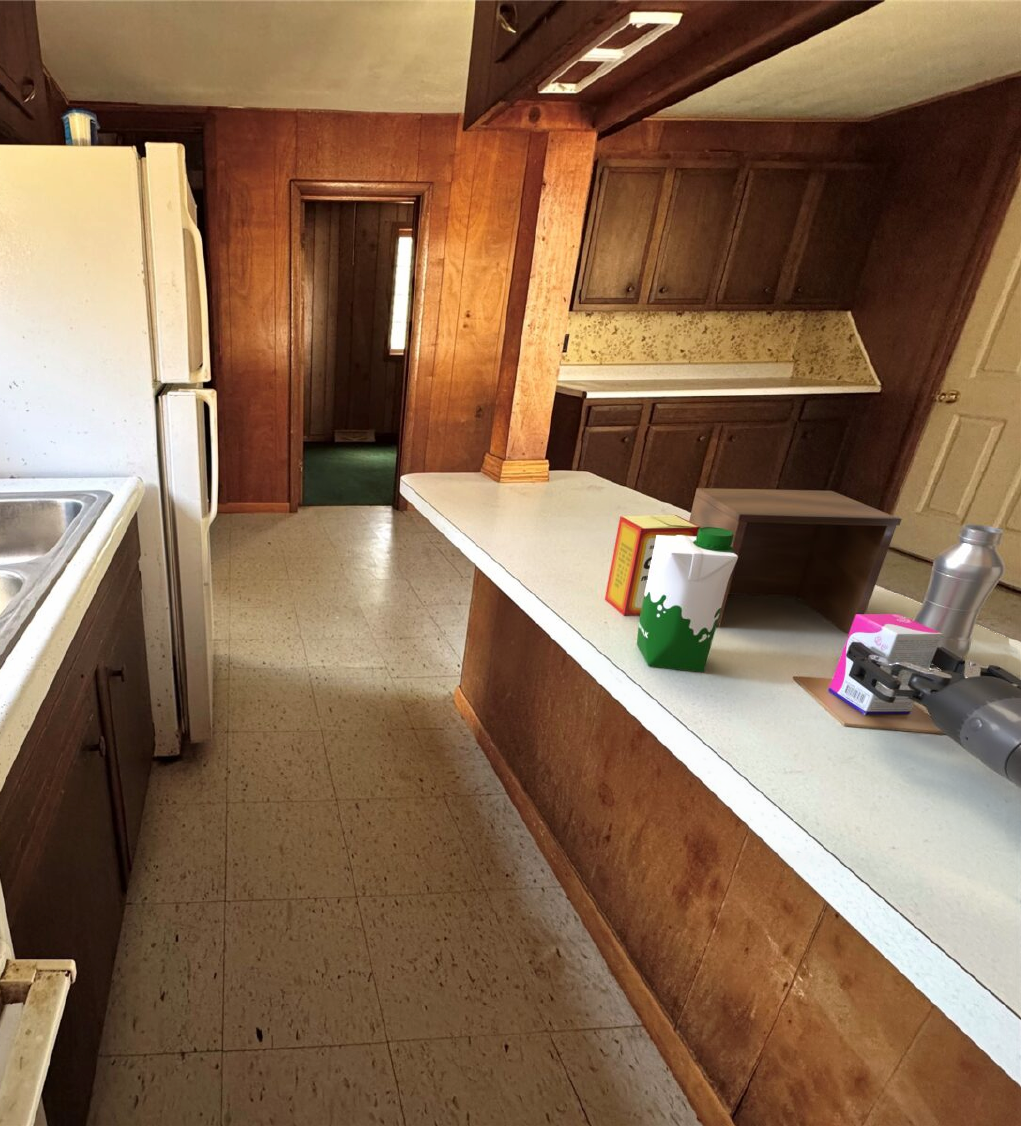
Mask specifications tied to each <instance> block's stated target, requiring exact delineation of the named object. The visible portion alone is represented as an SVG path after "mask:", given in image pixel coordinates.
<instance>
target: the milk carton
mask: <svg viewBox="0 0 1021 1126" xmlns="http://www.w3.org/2000/svg"><path fill="white" fill-rule="evenodd" d="M733 536H734V533H733V532H731V531H729V530H726V529H722V528H716V527H702V528H699V530H698V533H697V537H694V536H684V535H676V536H665V535H657V536H656V541H655V546H654V551H653V556H652V561H651V565H650V570H649V575H648V580H647V584H646V589H645V594H644V599H643V604H642V609H641V613H640V615H639V620H638V628H637V639H636V645H637V647H638V649H639V651H640V653H641V655H642V657H643V659H644V661H645V663H646V665H647V666H648V667H651V668H662V669H671V670H679V671H689V672H698V673H704V672H705V670H706V666H707V663H708V658H709V655H710V651H711V648H712V644H713V641H714V637H715V633H716V629H717V627H716V626H717V622H718V618H719V614H720V610H721V606H722V603H723V599H724V595H725V591H726V587H727V584H728V580H729V577H730V575H731V573H732V570H733V568H734V566H735V563H736V561H737V559H738V556H737V555H736V554H735V552H734V551H733V549H732V547H731V544H732V540H733Z"/></svg>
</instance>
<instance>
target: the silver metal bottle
mask: <svg viewBox="0 0 1021 1126" xmlns="http://www.w3.org/2000/svg"><path fill="white" fill-rule="evenodd" d="M1003 535H1004V530H1003V529H1001V528H998V527H994V526H990V525H985V524H984V525H983V524H973V523H967V524H963V526H962V527H961V530H960V532H959V533H958V535H957V537H956V538H957V540H959V541H958V542H956V543H954V544H952V545H951V546H949V547H947V548H945V549H944V550H942V551H941V552H939V554H937V555H936V557H934V559H933V562H932V567H931V572H930V576H929V583H928V586H927V589H926V592H925V596H924V598H923V601H922V604H921V606H920V608H919V609H918V611H917V612H916V614H915V616H914V618H913V619H912V620H913V621H915V622H918V623H920V624H922V625H924V626H926V627H928V628H931V629H933V630H935V631H937V632H939V633H942V634H943V636H942V638H941V640H940V642H939V645H938V647H944V648H945V649H947V650H948V651H950V652H952V653H954V654H955V655H957V656H958V657H960V658H962V659H963V660H965V658H966V657H967V655H968V654H969V652H970V649H971V644H972V634H973V632H974V628H975V625H976V622H977V620H978V619H977V618H978V615H979V614H980V611H981V610H982V608H983V607H984V604H985V603H986V601H987V599H988V597H989V596H990V594H991V593H992V592H993V590H994V589H995V587H996V586H997V584H999V582H1000V580H1001V579H1002V577H1003V576H1004V574H1005V573H1006V565H1005V562H1004V560H1003V558H1002V556H1001V555H1000V552H998V550H997V549H996V548H997V546H998V547H999V546H1000V545H1001V543H1002V538H1003Z"/></svg>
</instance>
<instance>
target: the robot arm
mask: <svg viewBox="0 0 1021 1126" xmlns="http://www.w3.org/2000/svg"><path fill="white" fill-rule="evenodd" d="M846 656H847V658H849V659H850V660H851V661H852V662H853V665H852V667H851V670H850V673H849V676H850V677H851V678H852V679H854V680H855V681H856V682H858V683H859V684H860V685H862V686H863V687H864V688H866V689H867V690H868V691H870V692H871V693H873V694H874V695H875V696H877V697H878V698H879V699H881V700H882V701H885V702H888V703H893V702H894V701H895V698H896V697H908V698H909V699H911V700H912V701H915V702H914V703H917V704H920V705H921V706H923V707H925V709H926V710H927V712H928V713H927V714H928V715H929V716H930V717H931V719H932V721H933V723H934V724H935V725H936V727H937V728H939V729H940V730H941V731H942V732H944V733H945V734H944V735H946V736H947V737H949V738H950V740H953V741H954V742H955V743H956V744H958V745H959V746H960V747H961V748H962V749H964V750H965V751H966V752H968V753H969V754H971V756H973V757H974V758H976V759H977V760H978V761H980V762H981V763H982V764H983V765H985V767H987V768H989V769H990V770H991V771H993V772H994V773H996V774H998V775H999V776H1002V777H1003V778H1005V779H1006V780H1008V781H1010V782H1011V783H1013V785H1015V786H1016V787H1018V789H1021V679H1020V678H1019V677H1017V676H1016V675H1014V674H1013V673H1011V672H1010V671H1008V670H1006V669H1005V668H1003V667H1001V666H999V665H996V664H995V665H994V664H989V665H988V666H987V667H982V666H981V664H980V663H978V662H976V661H971V660H965V659H962V658H960V657H958V656H957V655H955V654H954V653H952V652H950V651H948V650H947V649H945V648H944V647H937V650H936V652H935V655H934V657H933V659H932V662H931V664H930V665H933V666H934V667H935V668H937V669H930V668H929V669H926V668H923V667H920V666H917V665H914V664H911V663H909V662H906V661H899V662H893V661H891V660H888V659H885V658H882V657H879V655H878V654H876V653H875V652H873V651H872V650H871V649H869V648H868V647H866V646H865V645H864V644H862V643H861V642H852V643H851V645H850V646H849V648H848V651H847V654H846ZM880 666H884V667H887V668H889V669H890V670H891V672H890V674H888V673H887V672H885V671H884V670H882V669H881V668H880ZM938 669H939V670H938ZM905 670H906V671H909V672H912V675H911V677H910V680H909V682H908V686H907V685H903V684H901V682H900V681H901V678H902V676H903V673H904V671H905Z"/></svg>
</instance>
